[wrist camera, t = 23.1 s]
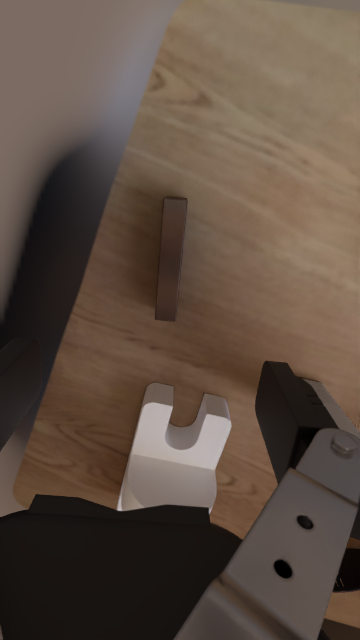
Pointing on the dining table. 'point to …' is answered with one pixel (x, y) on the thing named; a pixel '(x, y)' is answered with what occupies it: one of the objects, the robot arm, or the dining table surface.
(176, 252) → the stick
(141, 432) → the white slotted bracket
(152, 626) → the robot arm
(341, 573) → the sunglasses
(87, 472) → the dining table surface
